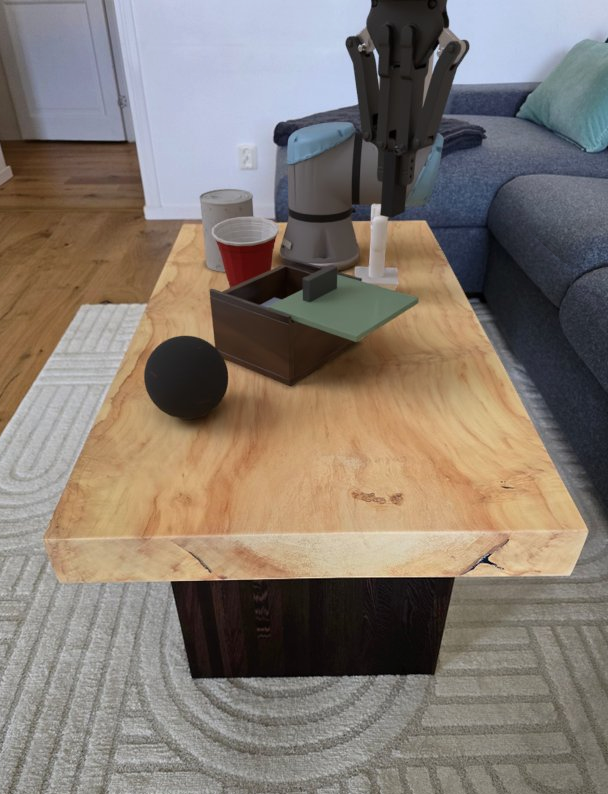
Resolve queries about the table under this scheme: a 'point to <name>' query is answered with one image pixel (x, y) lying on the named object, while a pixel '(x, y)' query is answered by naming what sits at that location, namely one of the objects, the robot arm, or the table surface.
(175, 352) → the speaker
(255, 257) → the plastic cup
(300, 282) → the walnut box
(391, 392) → the table surface
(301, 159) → the robot arm
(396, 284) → the figurine
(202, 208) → the grey tin can
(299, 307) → the slide door
